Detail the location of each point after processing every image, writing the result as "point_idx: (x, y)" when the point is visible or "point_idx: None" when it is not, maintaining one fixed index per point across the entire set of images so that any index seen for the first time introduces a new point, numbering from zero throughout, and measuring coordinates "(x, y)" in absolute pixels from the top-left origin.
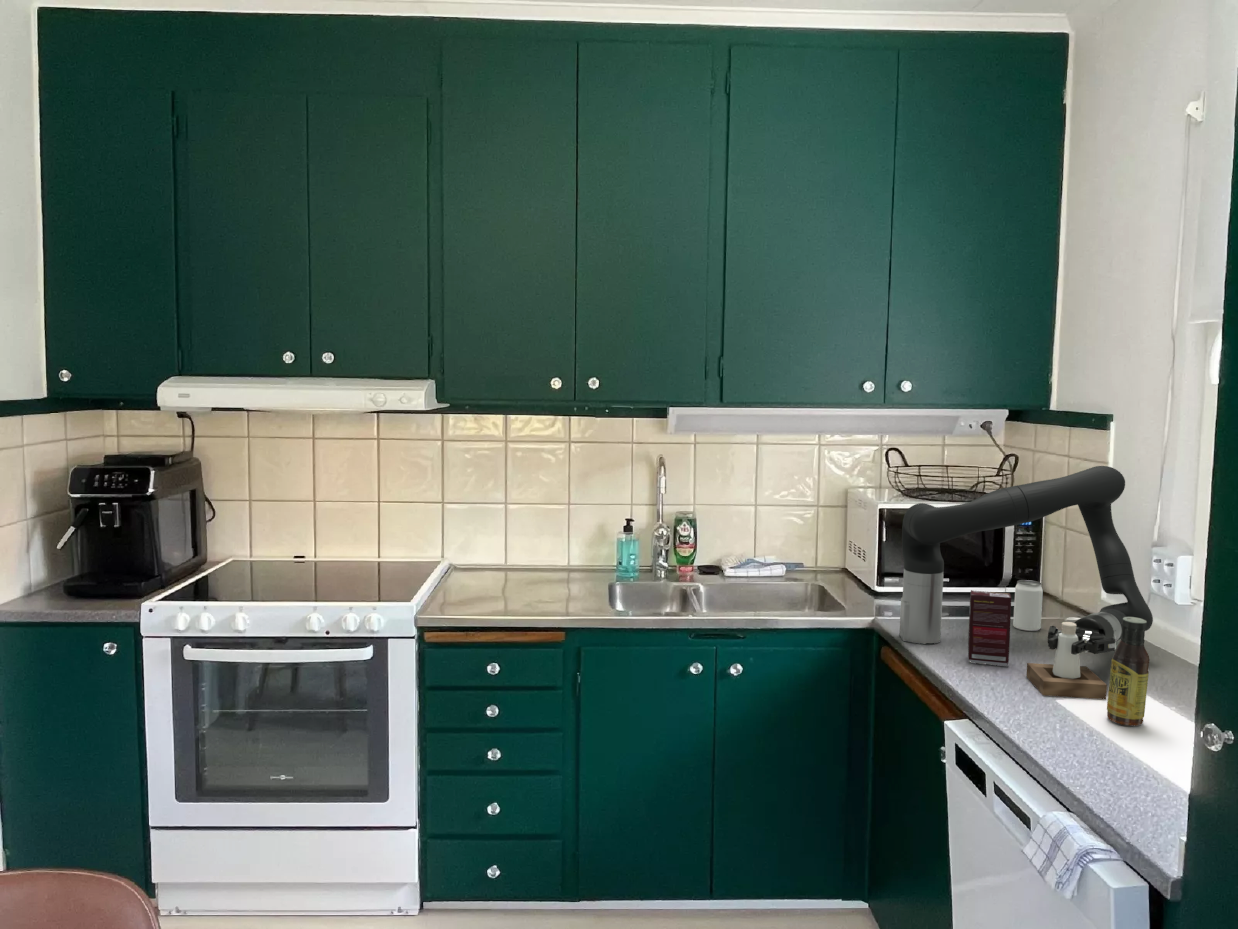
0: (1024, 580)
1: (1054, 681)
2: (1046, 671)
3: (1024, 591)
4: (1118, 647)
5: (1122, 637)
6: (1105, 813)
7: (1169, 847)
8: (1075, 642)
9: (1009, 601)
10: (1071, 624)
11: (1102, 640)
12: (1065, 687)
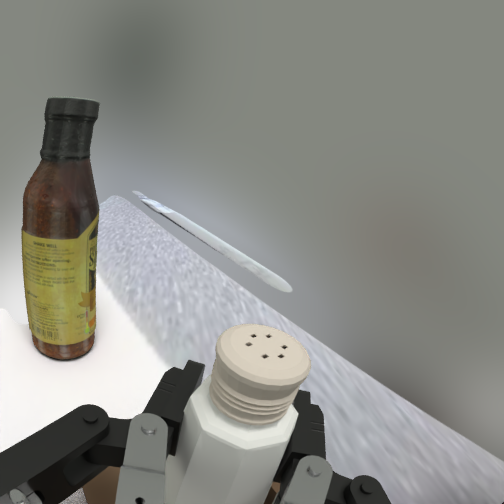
0: None
1: None
2: (273, 487)
3: None
4: (92, 175)
5: (89, 148)
6: (137, 211)
7: (108, 198)
8: (193, 384)
9: None
10: (244, 326)
11: (42, 449)
12: None
